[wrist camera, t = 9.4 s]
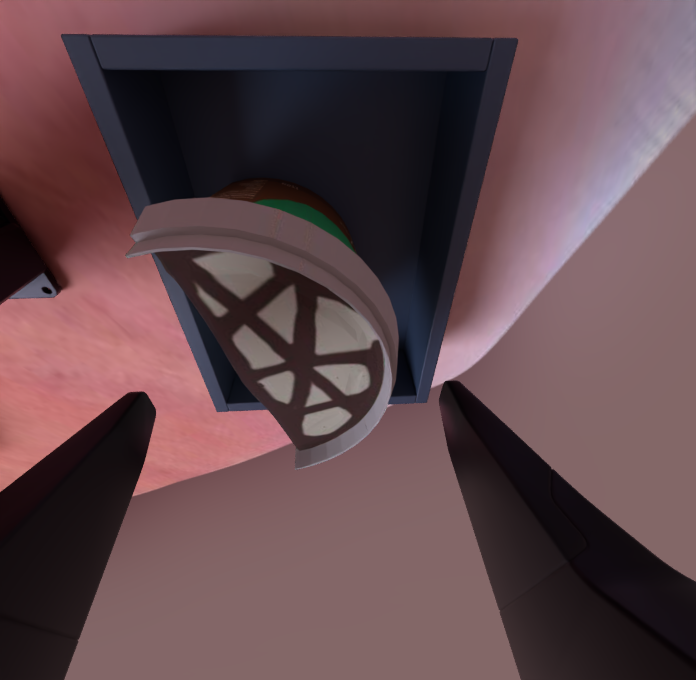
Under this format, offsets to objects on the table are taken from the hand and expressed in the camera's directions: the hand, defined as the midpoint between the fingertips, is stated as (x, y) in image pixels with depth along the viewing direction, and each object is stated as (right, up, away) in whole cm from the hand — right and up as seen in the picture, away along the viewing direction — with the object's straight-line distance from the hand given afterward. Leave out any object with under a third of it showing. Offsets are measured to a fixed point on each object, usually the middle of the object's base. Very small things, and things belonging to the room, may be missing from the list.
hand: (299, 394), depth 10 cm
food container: (0, +7, +9) cm, 11 cm away
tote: (0, +7, +9) cm, 12 cm away
